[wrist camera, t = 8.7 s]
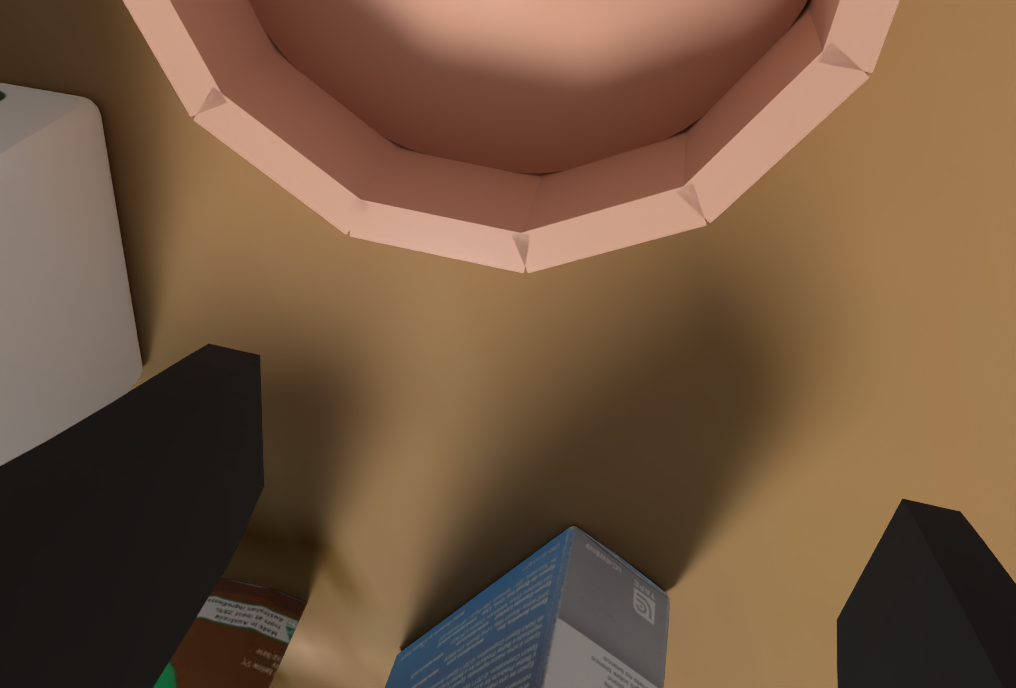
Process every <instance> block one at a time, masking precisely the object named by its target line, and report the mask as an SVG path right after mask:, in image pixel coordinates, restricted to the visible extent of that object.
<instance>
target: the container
mask: <svg viewBox="0 0 1016 688" xmlns="http://www.w3.org/2000/svg"><path fill="white" fill-rule="evenodd" d="M142 369H143V367H142V361H141V355H140V349H139V343H138V337H137V331H136V324H135V318H134V312H133V306H132V300H131V294H130V288H129V282H128V276H127V270H126V264H125V258H124V252H123V246H122V239H121V233H120V227H119V221H118V215H117V209H116V203H115V197H114V191H113V185H112V179H111V173H110V167H109V161H108V154H107V148H106V142H105V136H104V130H103V124H102V118H101V114H100V111H99V109H98V107H97V106H96V105H95V104H94V103H93V102H92V101H91V100H90V99H87V98H85V97H82V96H76V95H70V94H64V93H58V92H52V91H47V90H41V89H35V88H29V87H23V86H17V85H12V84H6V83H0V466H1V465H3V464H5V463H7V462H8V461H10V460H12V459H14V458H16V457H18V456H20V455H21V454H23V453H25V452H27V451H29V450H31V449H33V448H34V447H36V446H38V445H40V444H42V443H44V442H46V441H47V440H49V439H51V438H53V437H54V436H56V435H58V434H59V433H61V432H63V431H64V430H66V429H68V428H69V427H71V426H73V425H75V424H76V423H78V422H80V421H81V420H83V419H85V418H86V417H88V416H90V415H91V414H93V413H95V412H96V411H98V410H100V409H102V408H103V407H105V406H107V405H108V404H110V403H112V402H113V401H115V400H117V399H118V398H120V397H122V396H123V395H125V394H127V392H128V391H129V390H130V389H131V388H132V387H133V386H134V384H135V383H136V382H137V381H138V380H139V379H140V376H141V374H142Z"/></svg>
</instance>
